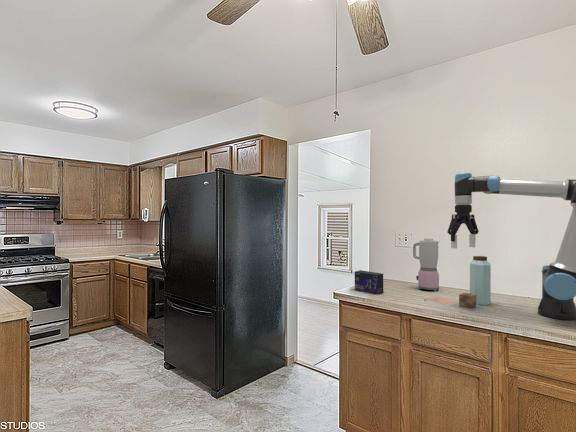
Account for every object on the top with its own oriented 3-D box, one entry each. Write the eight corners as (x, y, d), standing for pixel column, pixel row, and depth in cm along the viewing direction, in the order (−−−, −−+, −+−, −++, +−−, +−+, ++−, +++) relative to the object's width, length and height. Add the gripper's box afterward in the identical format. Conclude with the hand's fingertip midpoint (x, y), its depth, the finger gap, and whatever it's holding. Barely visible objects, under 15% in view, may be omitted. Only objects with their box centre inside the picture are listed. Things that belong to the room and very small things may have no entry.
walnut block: (476, 306, 178) (476, 294, 178) (471, 308, 174) (471, 296, 174) (463, 304, 182) (463, 292, 182) (459, 306, 178) (459, 294, 178)
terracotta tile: (460, 303, 188) (460, 301, 188) (444, 305, 182) (444, 304, 182) (439, 298, 200) (439, 296, 200) (423, 300, 194) (423, 299, 194)
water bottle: (494, 307, 180) (494, 257, 180) (472, 306, 182) (472, 257, 182) (487, 302, 190) (487, 255, 190) (466, 301, 192) (467, 255, 192)
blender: (441, 289, 224) (441, 238, 224) (436, 292, 214) (436, 239, 214) (415, 286, 233) (416, 237, 233) (410, 289, 223) (410, 238, 224)
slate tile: (488, 309, 175) (488, 307, 175) (471, 312, 169) (471, 311, 169) (464, 303, 187) (464, 302, 187) (447, 306, 180) (447, 305, 180)
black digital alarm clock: (354, 290, 220) (354, 271, 220) (360, 289, 225) (360, 270, 225) (377, 294, 208) (377, 274, 208) (383, 293, 212) (383, 273, 212)
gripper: (472, 205, 184) (472, 246, 184) (439, 204, 172) (439, 248, 172) (486, 204, 177) (486, 247, 177) (452, 203, 166) (453, 249, 166)
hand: (463, 247), depth 175 cm, fingers open, 13 cm apart
